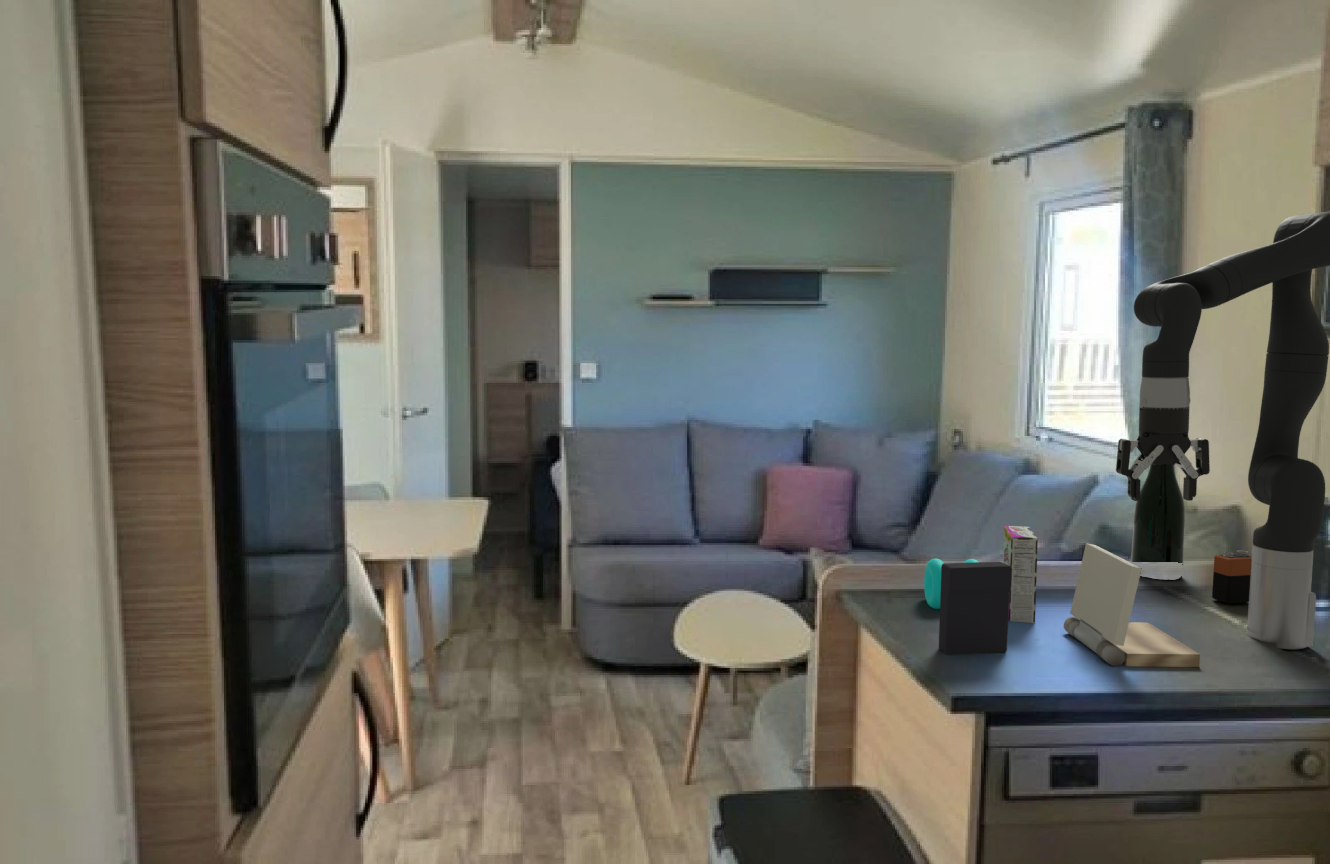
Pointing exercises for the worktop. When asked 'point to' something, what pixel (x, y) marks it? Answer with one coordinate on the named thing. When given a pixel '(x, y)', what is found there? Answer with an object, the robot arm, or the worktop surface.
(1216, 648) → the worktop surface
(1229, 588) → the battery
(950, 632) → the calculator
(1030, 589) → the candy bar box
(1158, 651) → the fixed leaf
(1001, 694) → the worktop surface
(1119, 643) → the hinge leaf
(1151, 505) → the wine bottle
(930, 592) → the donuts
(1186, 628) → the worktop surface
